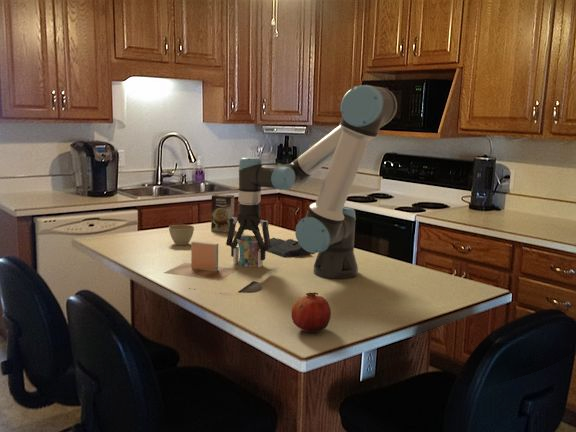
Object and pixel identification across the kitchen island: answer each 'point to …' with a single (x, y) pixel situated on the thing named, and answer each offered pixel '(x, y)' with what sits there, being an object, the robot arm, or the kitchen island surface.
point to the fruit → (311, 313)
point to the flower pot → (181, 233)
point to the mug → (248, 251)
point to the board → (200, 272)
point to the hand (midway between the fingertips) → (247, 267)
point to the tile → (204, 256)
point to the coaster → (252, 287)
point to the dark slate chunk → (286, 248)
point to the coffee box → (222, 212)
